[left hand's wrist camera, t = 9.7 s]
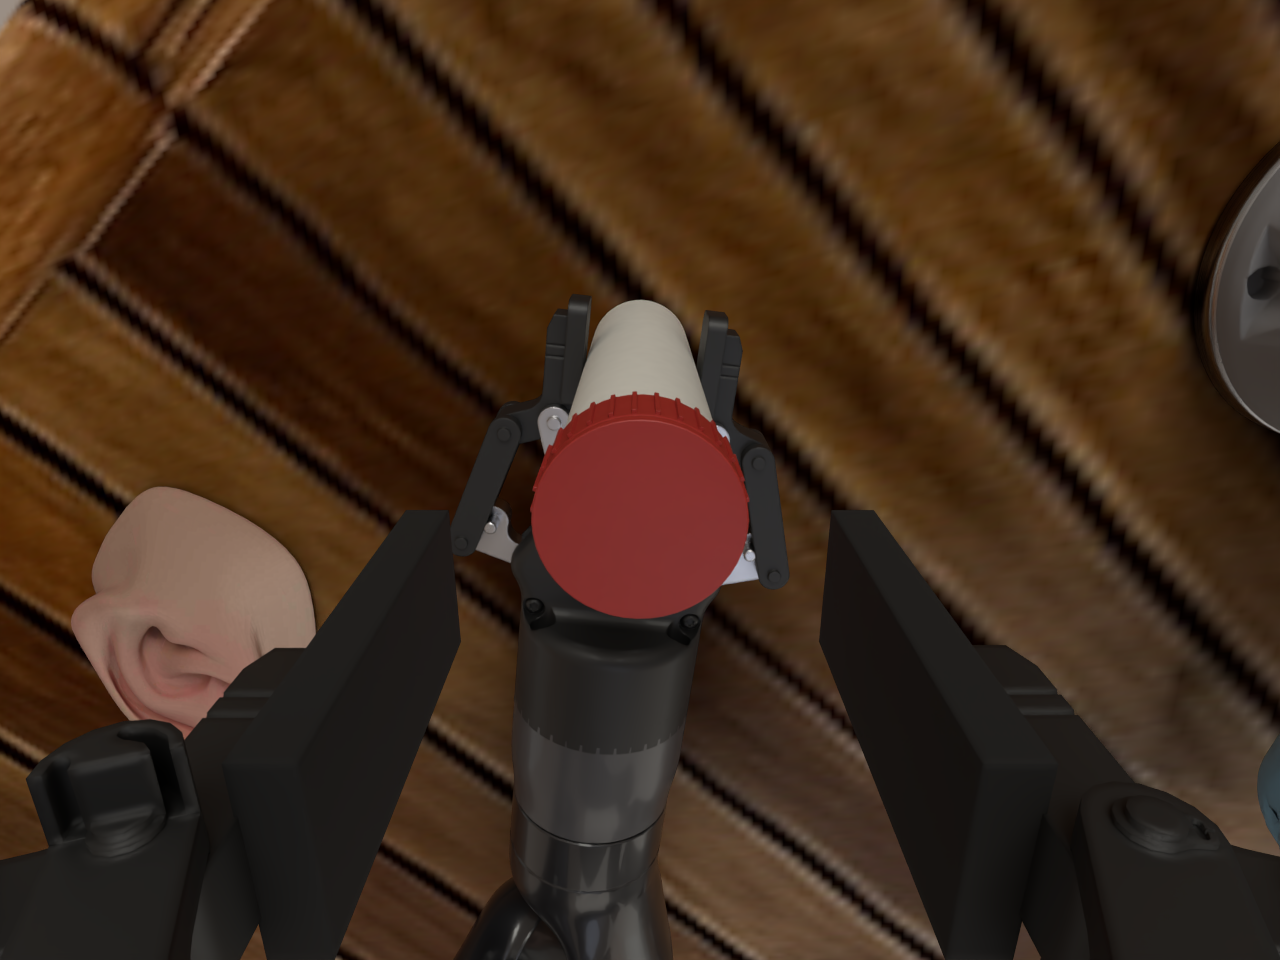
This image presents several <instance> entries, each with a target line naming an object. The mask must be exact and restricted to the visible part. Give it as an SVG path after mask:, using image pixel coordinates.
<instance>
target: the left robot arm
mask: <svg viewBox="0 0 1280 960" xmlns="http://www.w3.org/2000/svg"><path fill="white" fill-rule="evenodd" d="M1194 325H1195V334H1196V341H1197V346H1198V350H1199V353H1200V357H1201V360H1202V363H1203V365H1204V368H1205V370H1206V372H1207V374H1208V376H1209V378H1210V380H1211V381H1212V383H1213V385H1214V386H1215V388H1216V389H1217V390H1218V392H1219V393H1220V395H1221V396H1222V397H1223V398H1224V399H1225V400H1226V401H1227V402H1228V403H1229V404H1230V405H1231V406H1232V407H1233V408H1234V409H1235V410H1236V411H1238V412H1239V413H1240V414H1241V415H1243V416H1244V417H1246V418H1247V419H1249V420H1251V421H1252V422H1254V423H1256V424H1258V425H1260V426H1262V427H1264V428H1267V429H1269V430H1272V431H1274V432H1277V433H1279V434H1280V142H1278V143H1277V144H1276V145H1275V146H1274V147H1273V148H1272V149H1271V150H1270V151H1269V152H1268V153H1267V154H1266V155H1265V156H1264V157H1263V158H1262V159H1261V161H1260V162H1259V163H1258V164H1257V165H1256V166H1255V167H1254V168H1253V170H1252V171H1251V172H1250V173H1249V174H1248V176H1247V177H1246V178H1245V180H1244V181H1243V182H1242V184H1241V185H1240V186H1239V188H1238V189H1237V190H1236V192H1235V193H1234V195H1233V197H1232V198H1231V200H1230V201H1229V203H1228V204H1227V206H1226V208H1225V209H1224V211H1223V213H1222V215H1221V217H1220V219H1219V220H1218V222H1217V224H1216V226H1215V229H1214V231H1213V233H1212V235H1211V238H1210V240H1209V242H1208V245H1207V248H1206V251H1205V254H1204V256H1203V259H1202V263H1201V267H1200V271H1199V275H1198V279H1197V286H1196V292H1195V303H1194ZM460 642H461V638H460V627H459V617H458V606H457V595H456V585H455V574H454V563H453V553H452V542H451V531H450V521H449V510H406V511H405V513H404V514H403V515H402V517H401V518H400V520H399V521H398V522H397V524H396V525H395V526H394V528H393V529H392V531H391V532H390V533H389V535H388V536H387V537H386V539H385V540H384V542H383V543H382V544H381V546H380V547H379V548H378V550H377V551H376V552H375V554H374V555H373V557H372V558H371V559H370V561H369V562H368V563H367V565H366V566H365V568H364V569H363V570H362V572H361V573H360V574H359V576H358V577H357V579H356V580H355V581H354V583H353V584H352V585H351V587H350V588H349V590H348V591H347V592H346V594H345V595H344V596H343V598H342V599H341V600H340V602H339V603H338V605H337V606H336V607H335V609H334V610H333V611H332V613H331V614H330V616H329V617H328V618H327V620H326V621H325V622H324V624H323V625H322V627H321V628H320V629H319V631H318V632H317V633H316V635H315V636H314V638H313V639H312V640H311V642H310V643H309V644H308V646H307V647H306V648H274V649H272V650H271V651H269V652H268V653H266V654H265V655H263V656H262V657H260V658H259V659H257V660H256V661H254V662H253V663H251V664H249V665H248V666H246V667H245V668H243V670H242V671H241V672H240V673H239V674H238V676H237V677H236V678H235V679H234V680H233V682H232V683H231V684H230V685H229V687H228V688H227V689H226V690H225V691H224V695H223V697H219V699H218V700H217V701H216V702H215V703H214V705H213V706H212V707H211V708H210V709H209V711H208V712H207V717H206V718H202V719H201V720H200V722H199V723H198V724H197V725H196V726H195V728H194V729H193V730H192V731H191V732H190V734H189V735H188V736H187V737H186V738H185V740H184V737H183V733H182V732H181V731H180V730H179V729H178V728H176V727H175V726H174V725H173V724H171V723H169V722H164V721H158V720H152V719H145V720H134V721H123V722H120V723H116V724H113V725H109V726H105V727H102V728H98V729H95V730H92V731H90V732H88V733H86V734H84V735H82V736H80V737H77V738H75V739H73V740H71V741H69V742H67V743H65V744H63V745H62V746H61V747H59V748H58V749H56V750H55V751H54V752H52V753H51V754H49V755H48V756H47V757H45V758H44V759H42V760H41V761H40V762H39V764H38V765H37V766H36V767H35V768H34V770H33V771H32V772H31V773H30V774H29V776H28V777H27V778H26V781H27V784H28V787H29V790H30V793H31V796H32V799H33V801H34V804H35V807H36V810H37V813H38V816H39V819H40V822H41V825H42V828H43V830H44V833H45V836H46V839H47V842H48V845H49V848H48V849H45V850H42V851H38V852H34V853H30V854H26V855H21V856H17V857H13V858H8V859H4V860H0V960H240V958H241V956H242V955H243V953H244V951H245V949H246V947H247V945H248V943H249V941H250V939H251V937H252V935H253V933H254V931H255V930H256V928H257V926H258V924H259V927H260V932H261V936H262V940H263V945H264V949H265V953H266V957H267V960H335V958H336V955H337V953H338V950H339V948H340V945H341V943H342V940H343V937H344V935H345V932H346V930H347V927H348V925H349V922H350V920H351V917H352V915H353V912H354V910H355V907H356V905H357V902H358V900H359V897H360V895H361V892H362V890H363V887H364V885H365V882H366V879H367V877H368V874H369V872H370V869H371V867H372V864H373V862H374V859H375V857H376V854H377V852H378V849H379V847H380V844H381V842H382V839H383V837H384V834H385V832H386V829H387V827H388V824H389V821H390V819H391V816H392V814H393V811H394V809H395V806H396V804H397V801H398V799H399V796H400V794H401V791H402V789H403V786H404V784H405V781H406V779H407V776H408V774H409V771H410V769H411V766H412V763H413V761H414V758H415V756H416V753H417V751H418V748H419V746H420V743H421V741H422V738H423V736H424V733H425V731H426V728H427V726H428V723H429V721H430V718H431V716H432V713H433V711H434V708H435V705H436V703H437V700H438V698H439V695H440V693H441V690H442V688H443V685H444V683H445V680H446V678H447V675H448V673H449V670H450V668H451V665H452V663H453V660H454V658H455V655H456V653H457V650H458V647H459V645H460ZM819 642H820V645H821V647H822V650H823V653H824V655H825V658H826V660H827V663H828V665H829V668H830V670H831V673H832V675H833V678H834V680H835V683H836V685H837V688H838V690H839V693H840V695H841V698H842V700H843V703H844V705H845V708H846V711H847V713H848V716H849V718H850V721H851V723H852V726H853V728H854V731H855V733H856V736H857V738H858V741H859V743H860V746H861V748H862V751H863V753H864V756H865V758H866V761H867V763H868V766H869V769H870V771H871V774H872V776H873V779H874V781H875V784H876V786H877V789H878V791H879V794H880V796H881V799H882V801H883V804H884V806H885V809H886V811H887V814H888V816H889V819H890V821H891V824H892V827H893V829H894V832H895V834H896V837H897V839H898V842H899V844H900V847H901V849H902V852H903V854H904V857H905V859H906V862H907V864H908V867H909V869H910V872H911V874H912V877H913V879H914V882H915V885H916V887H917V890H918V892H919V895H920V897H921V900H922V902H923V905H924V907H925V910H926V912H927V915H928V917H929V920H930V922H931V925H932V927H933V930H934V932H935V935H936V937H937V940H938V943H939V945H940V948H941V950H942V953H943V955H944V958H945V960H1013V957H1014V953H1015V949H1016V945H1017V940H1018V936H1019V932H1020V927H1021V923H1022V922H1023V924H1024V926H1025V927H1026V929H1027V931H1028V933H1029V935H1030V937H1031V939H1032V941H1033V943H1034V945H1035V947H1036V948H1037V950H1038V952H1039V954H1040V956H1041V960H1280V857H1278V856H1274V855H1269V854H1265V853H1261V852H1256V851H1252V850H1248V849H1243V848H1240V847H1237V846H1233V845H1230V843H1229V842H1228V840H1227V839H1226V837H1225V836H1224V835H1223V833H1222V832H1221V830H1220V829H1219V827H1218V826H1217V825H1216V824H1215V823H1213V822H1212V821H1211V820H1210V819H1208V818H1207V817H1206V816H1205V815H1204V814H1202V813H1201V812H1200V811H1199V810H1197V809H1196V808H1195V807H1193V806H1191V805H1190V804H1188V803H1186V802H1184V801H1182V800H1180V799H1178V798H1176V797H1175V796H1173V795H1171V794H1169V793H1167V792H1164V791H1161V790H1157V789H1154V788H1151V787H1148V786H1145V785H1142V784H1137V783H1134V782H1133V780H1132V779H1131V778H1130V777H1129V776H1128V774H1127V773H1126V772H1125V771H1124V770H1123V768H1122V767H1121V766H1120V765H1119V764H1118V762H1117V761H1116V760H1115V759H1114V758H1113V756H1112V755H1111V754H1110V753H1109V752H1108V750H1107V749H1106V748H1105V747H1104V746H1103V744H1102V743H1101V742H1100V741H1099V740H1098V738H1097V737H1096V736H1095V735H1094V734H1093V732H1092V731H1091V730H1090V729H1089V728H1088V726H1087V725H1086V724H1085V723H1084V722H1083V720H1082V719H1081V718H1080V717H1079V716H1078V715H1074V710H1073V708H1072V707H1071V706H1070V705H1069V704H1068V702H1067V701H1066V700H1065V699H1064V698H1063V696H1062V695H1058V694H1057V689H1056V688H1055V687H1054V686H1053V684H1052V683H1051V682H1050V681H1049V680H1048V678H1047V677H1046V676H1045V675H1044V674H1043V672H1042V671H1041V670H1040V669H1039V668H1038V666H1036V665H1035V664H1033V663H1032V662H1030V661H1029V660H1027V659H1026V658H1024V657H1023V656H1021V655H1020V654H1018V653H1017V652H1015V651H1014V650H1012V649H1010V648H1009V647H1007V646H1006V645H972V644H971V643H970V642H969V640H968V639H967V638H966V636H965V635H964V633H963V632H962V631H961V629H960V628H959V627H958V625H957V624H956V622H955V621H954V620H953V618H952V617H951V616H950V614H949V613H948V611H947V610H946V609H945V607H944V606H943V605H942V603H941V602H940V600H939V599H938V598H937V596H936V595H935V594H934V592H933V591H932V590H931V588H930V587H929V585H928V584H927V583H926V581H925V580H924V579H923V577H922V576H921V574H920V573H919V572H918V570H917V569H916V568H915V566H914V565H913V563H912V562H911V561H910V559H909V558H908V557H907V555H906V554H905V552H904V551H903V550H902V548H901V547H900V546H899V544H898V543H897V542H896V540H895V539H894V537H893V536H892V535H891V533H890V532H889V531H888V529H887V528H886V526H885V525H884V524H883V522H882V521H881V520H880V518H879V517H878V515H877V514H876V513H875V511H874V510H831V521H830V531H829V542H828V553H827V563H826V574H825V585H824V595H823V606H822V617H821V627H820V638H819ZM1257 791H1258V799H1259V804H1260V808H1261V811H1262V813H1263V816H1264V818H1265V821H1266V825H1267V827H1268V829H1269V831H1270V832H1271V834H1272V835H1273V837H1274V838H1275V840H1276V842H1277V843H1278V845H1279V848H1280V734H1279V735H1278V737H1277V738H1276V740H1275V741H1274V743H1273V744H1272V746H1271V747H1270V749H1269V750H1268V752H1267V754H1266V755H1265V757H1264V759H1263V761H1262V763H1261V766H1260V769H1259V773H1258V783H1257Z"/></svg>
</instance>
